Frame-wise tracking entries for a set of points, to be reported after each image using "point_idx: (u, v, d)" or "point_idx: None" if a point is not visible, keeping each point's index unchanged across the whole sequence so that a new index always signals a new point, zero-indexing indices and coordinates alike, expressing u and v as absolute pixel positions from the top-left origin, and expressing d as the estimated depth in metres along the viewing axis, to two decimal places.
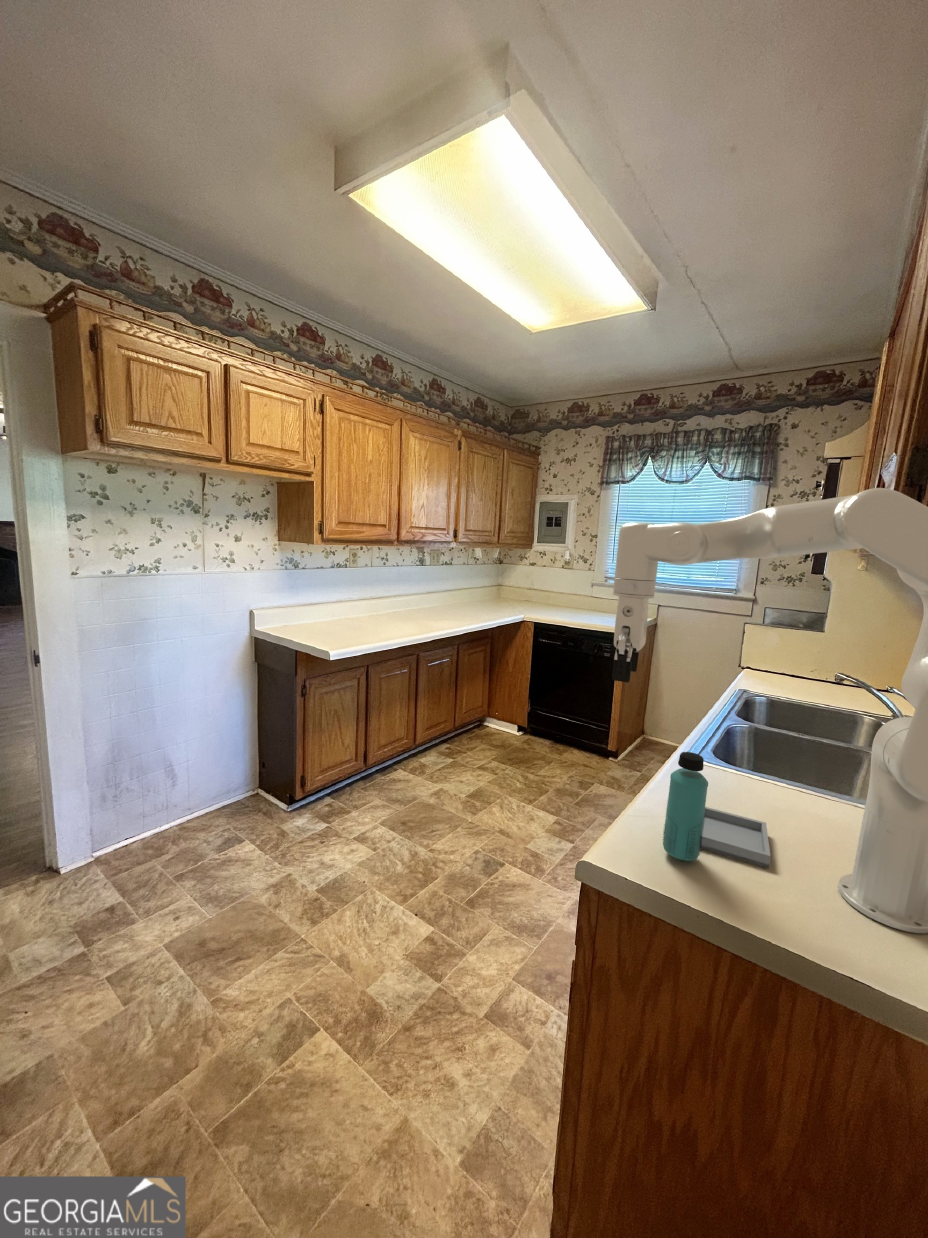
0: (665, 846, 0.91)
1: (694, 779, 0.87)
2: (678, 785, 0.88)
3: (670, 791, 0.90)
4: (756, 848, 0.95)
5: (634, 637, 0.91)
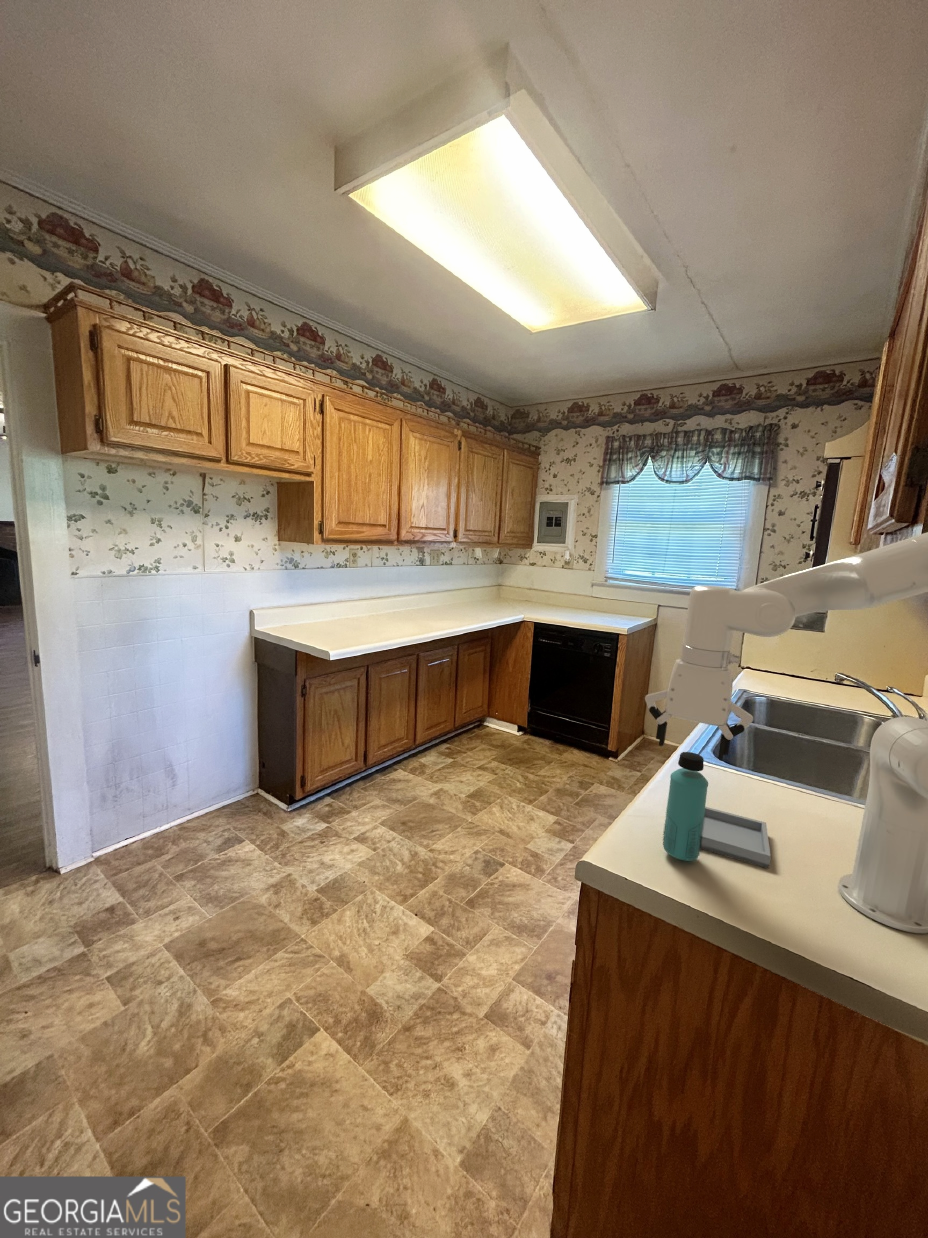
0: (665, 846, 0.91)
1: (694, 779, 0.87)
2: (678, 785, 0.88)
3: (670, 791, 0.90)
4: (756, 848, 0.95)
5: None
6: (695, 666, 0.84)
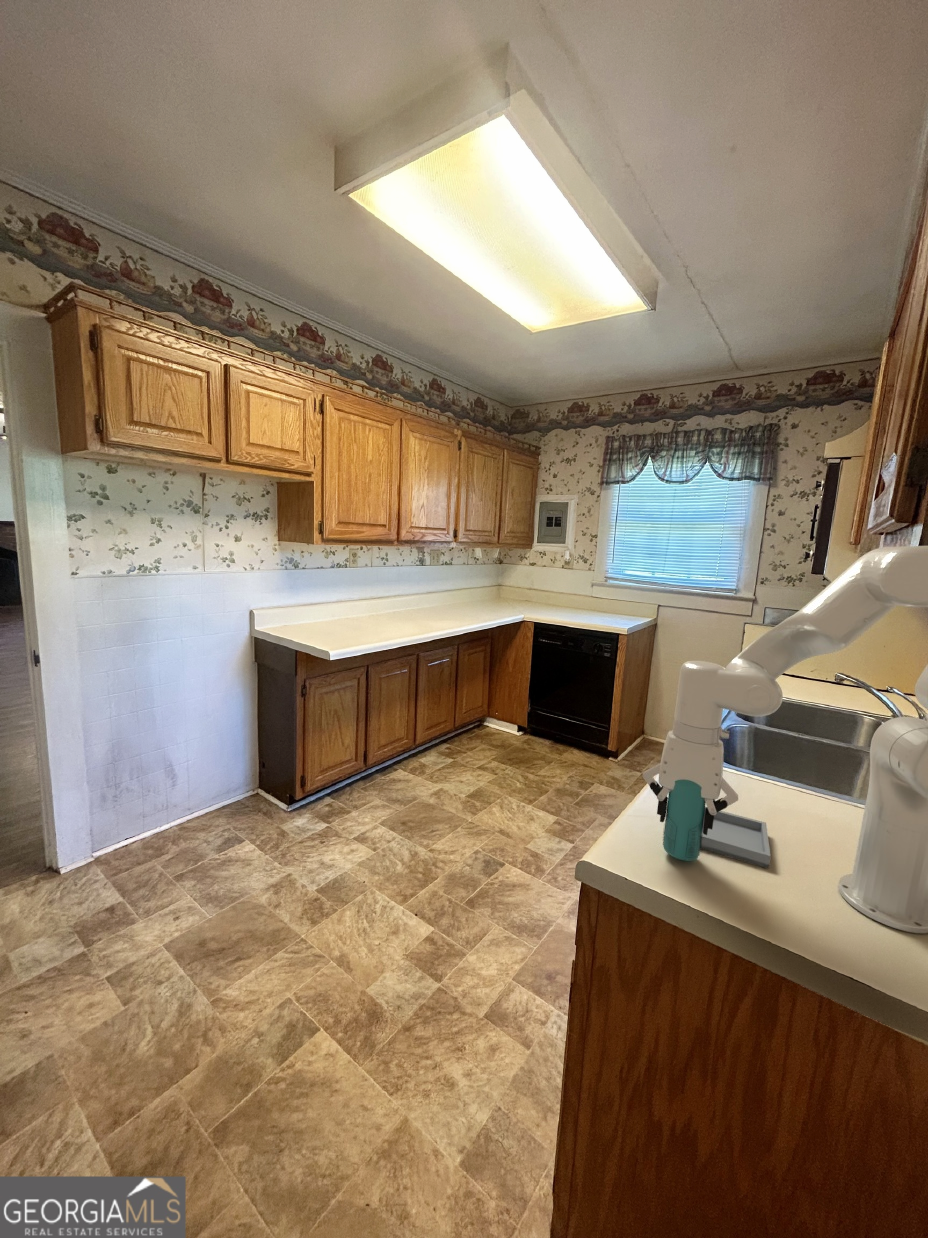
0: (665, 846, 0.91)
1: None
2: (678, 785, 0.88)
3: (670, 791, 0.90)
4: (756, 848, 0.95)
5: None
6: (686, 742, 0.86)
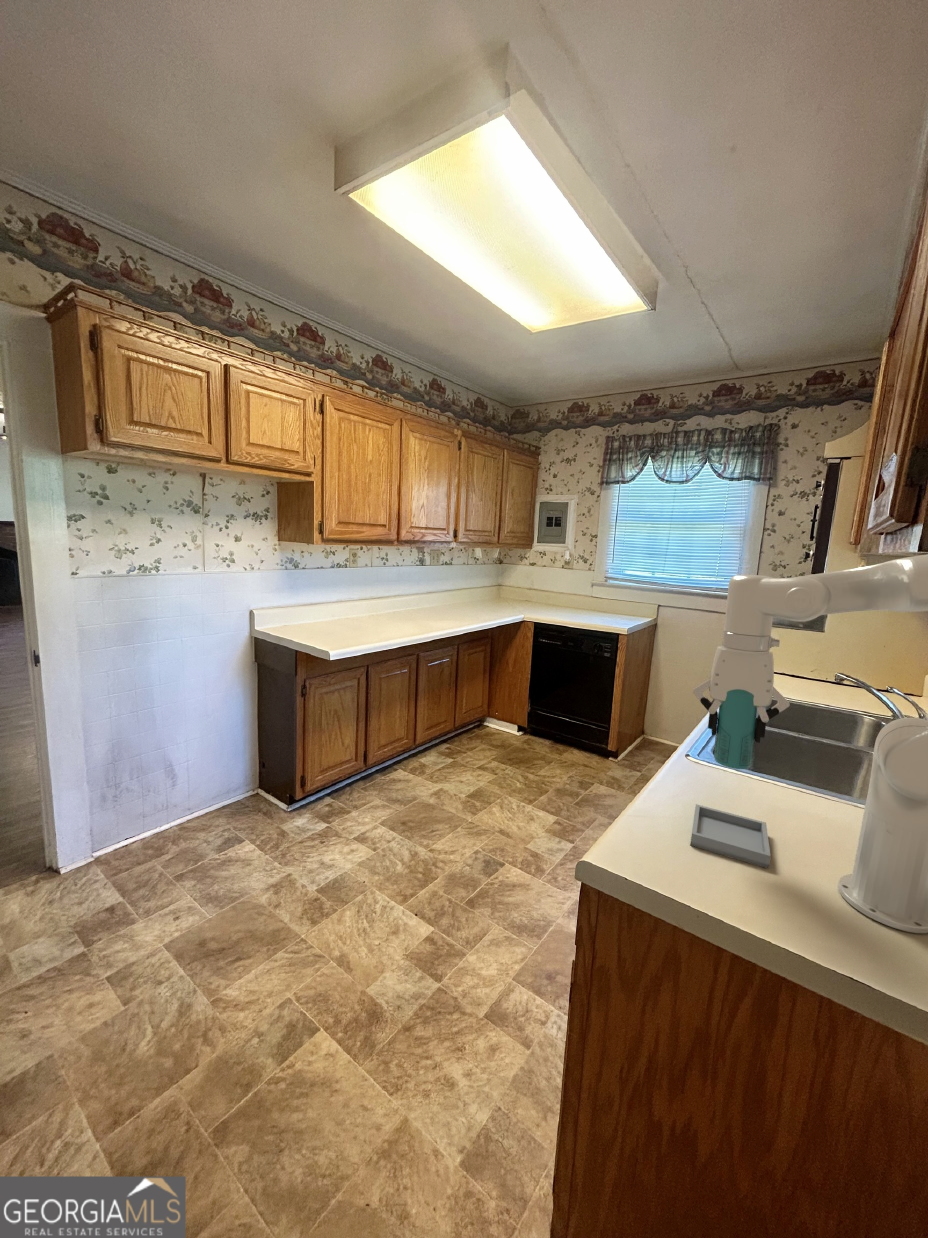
0: (718, 758, 0.94)
1: None
2: (730, 695, 0.91)
3: None
4: (756, 848, 0.95)
5: None
6: (739, 651, 0.88)
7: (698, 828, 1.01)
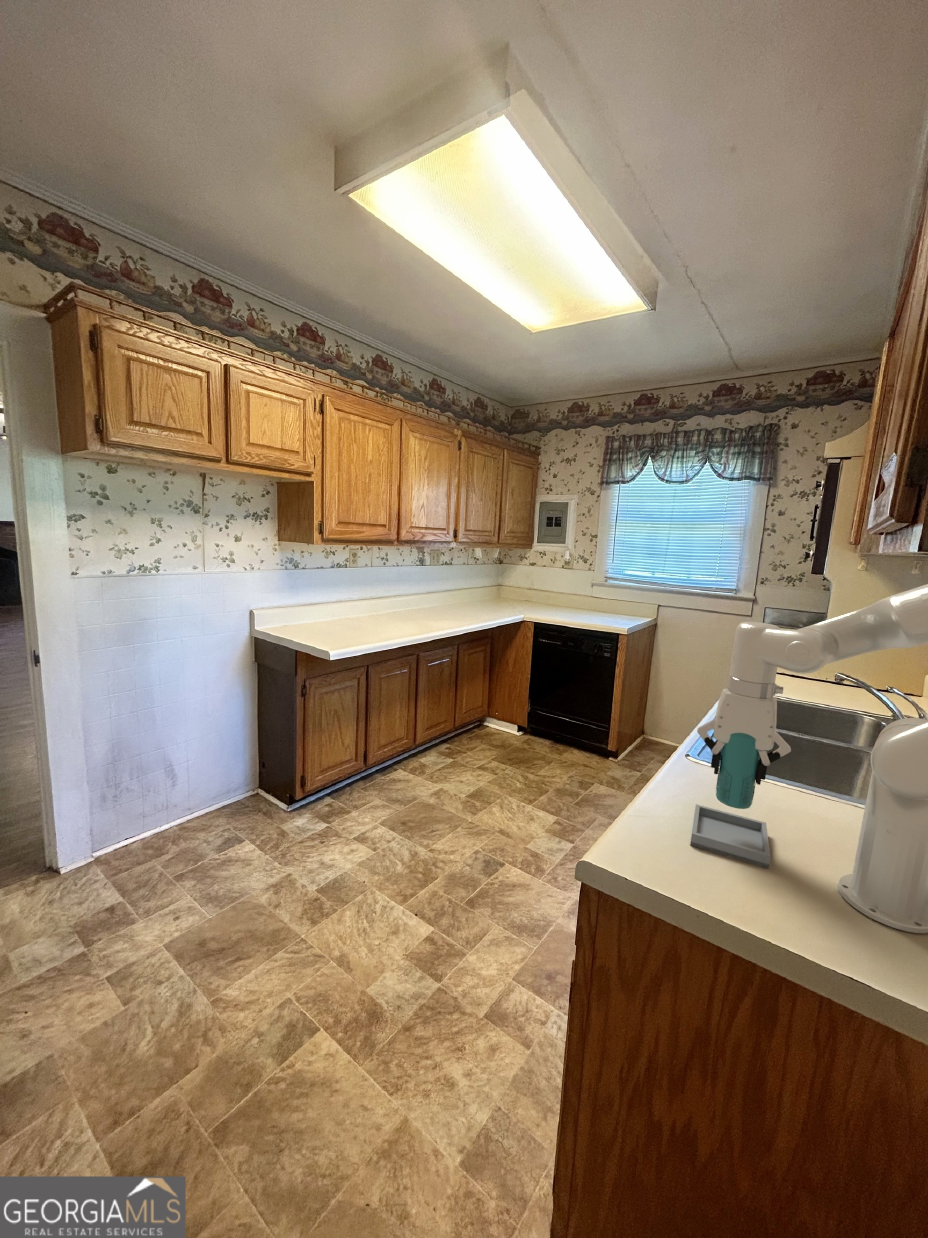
0: (719, 796, 0.97)
1: None
2: (733, 737, 0.94)
3: None
4: (756, 848, 0.95)
5: None
6: (743, 697, 0.92)
7: (698, 828, 1.01)
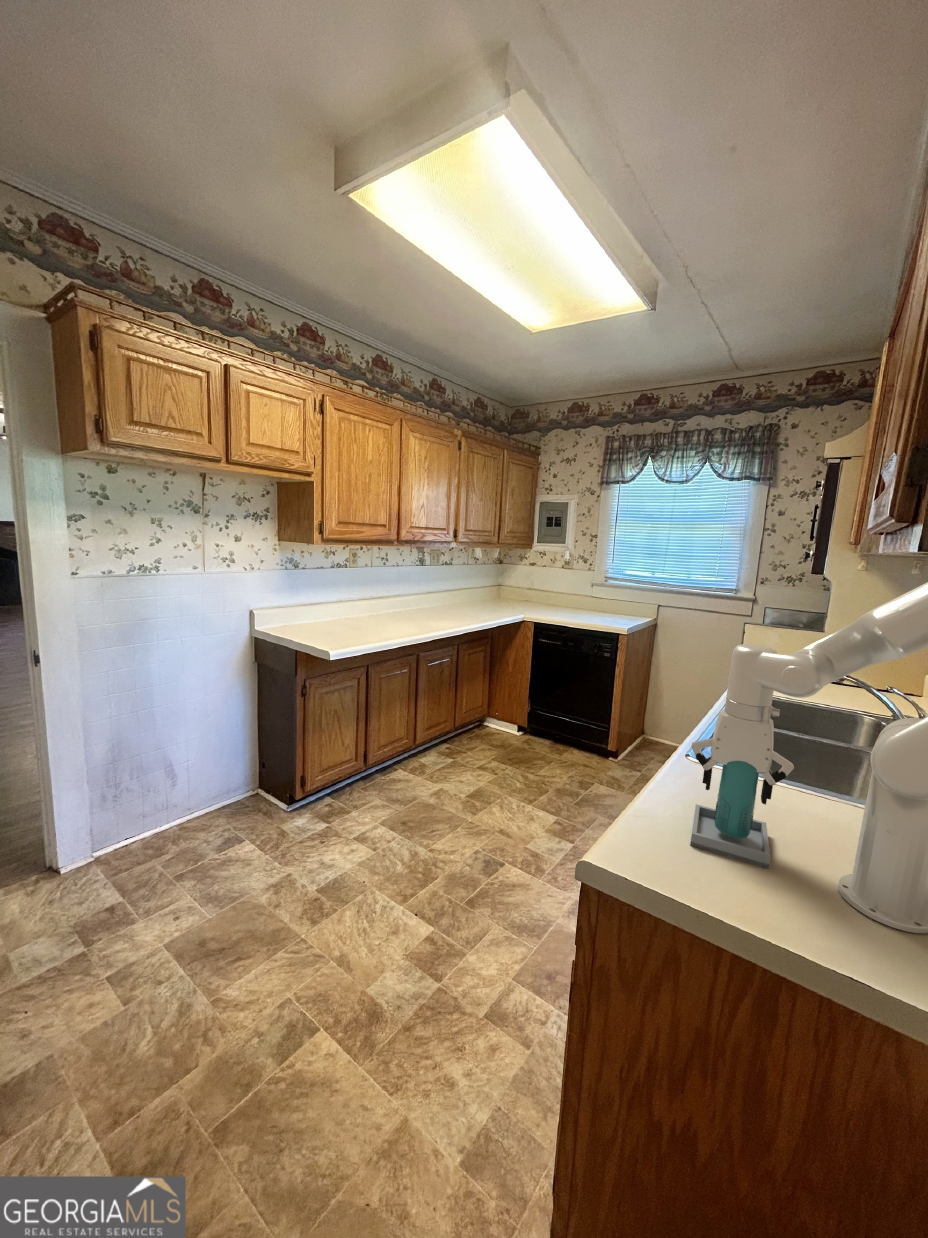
0: (717, 825, 0.98)
1: None
2: (732, 768, 0.94)
3: (723, 774, 0.96)
4: (756, 848, 0.95)
5: None
6: (740, 719, 0.92)
7: (698, 828, 1.01)
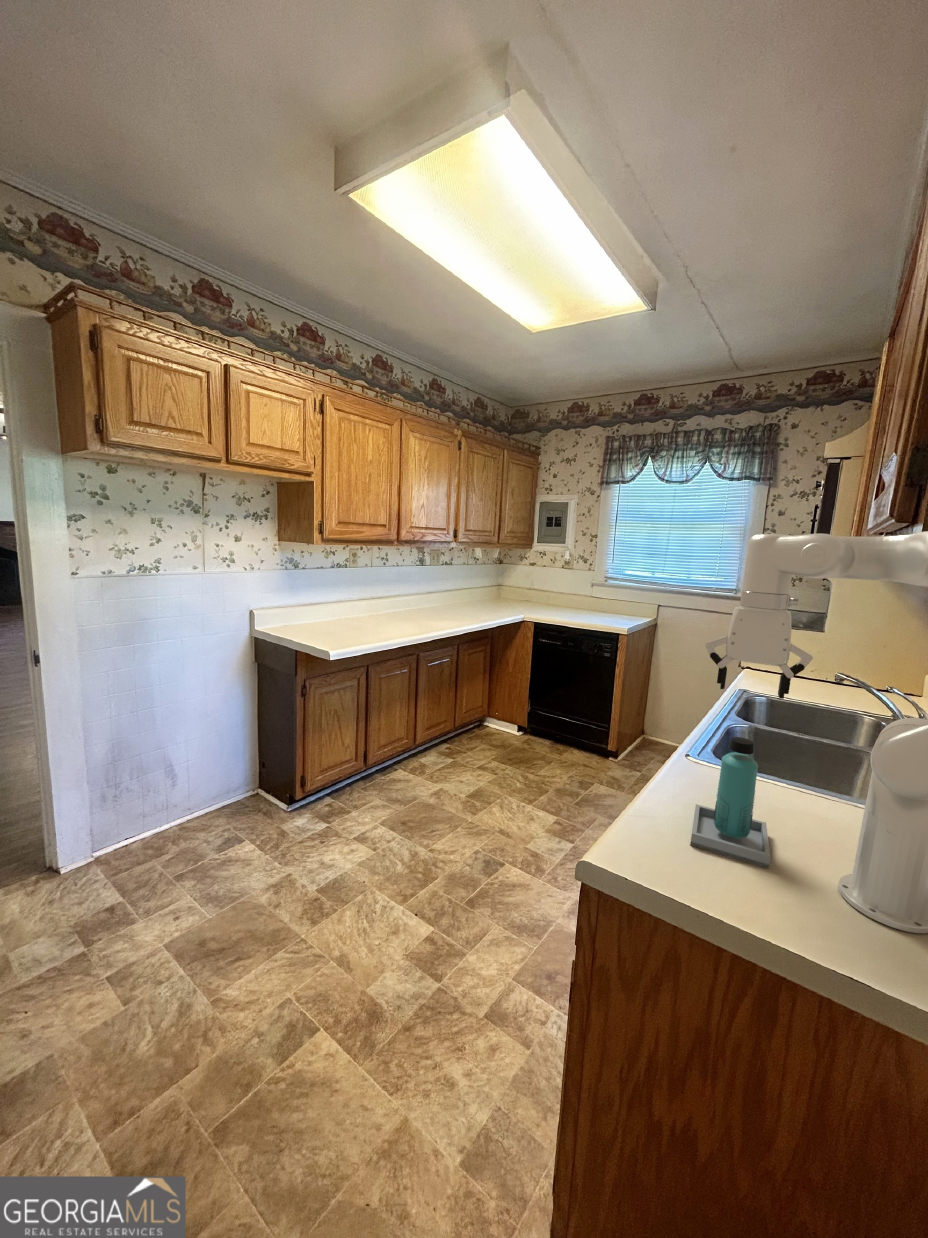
0: (717, 825, 0.98)
1: (745, 761, 0.94)
2: (730, 767, 0.95)
3: (722, 773, 0.97)
4: (756, 848, 0.95)
5: None
6: (757, 609, 0.89)
7: (698, 828, 1.01)
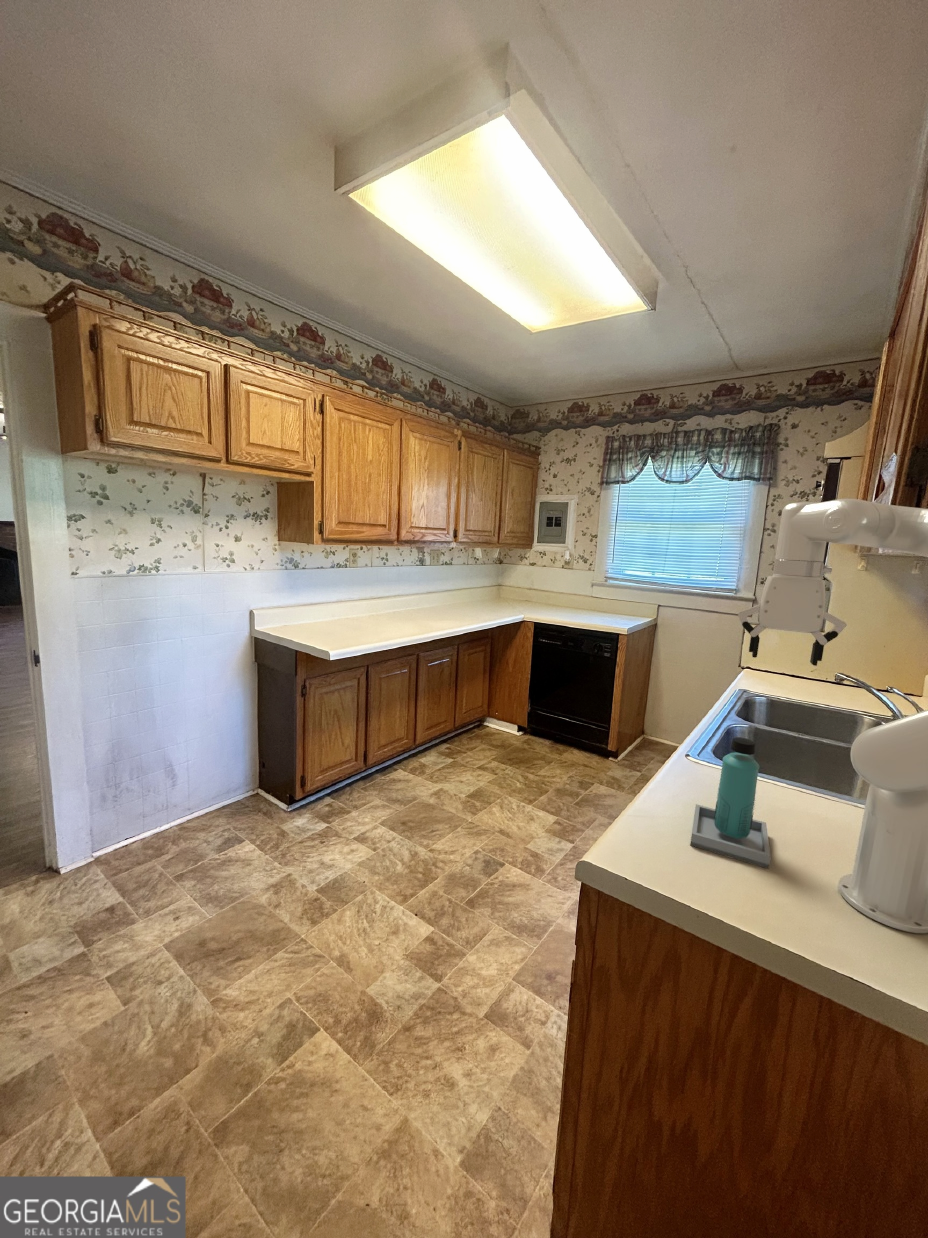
0: None
1: (747, 761, 0.94)
2: (731, 767, 0.95)
3: (723, 773, 0.97)
4: (756, 848, 0.95)
5: None
6: (791, 577, 0.90)
7: (698, 828, 1.01)
